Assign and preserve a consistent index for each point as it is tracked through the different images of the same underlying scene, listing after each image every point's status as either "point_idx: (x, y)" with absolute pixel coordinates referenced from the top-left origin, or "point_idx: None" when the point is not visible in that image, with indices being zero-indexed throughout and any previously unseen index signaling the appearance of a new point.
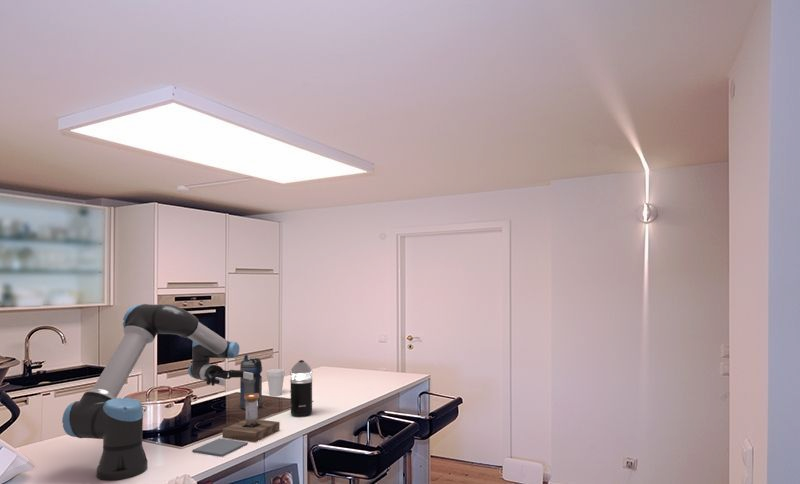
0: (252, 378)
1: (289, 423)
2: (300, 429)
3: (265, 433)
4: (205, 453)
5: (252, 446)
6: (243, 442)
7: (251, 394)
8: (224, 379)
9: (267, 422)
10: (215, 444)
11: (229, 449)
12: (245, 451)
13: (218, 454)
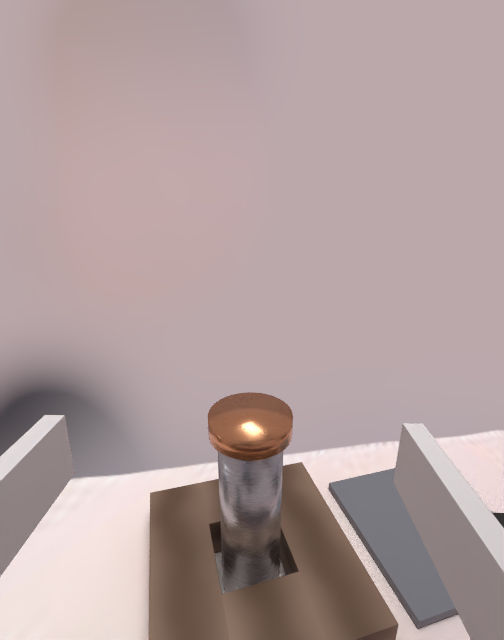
0: (66, 459)
1: (36, 565)
2: (115, 476)
3: None
4: None
5: (324, 468)
6: (341, 491)
7: (250, 415)
8: (413, 425)
9: (178, 523)
10: None
11: None
12: (358, 454)
13: None
